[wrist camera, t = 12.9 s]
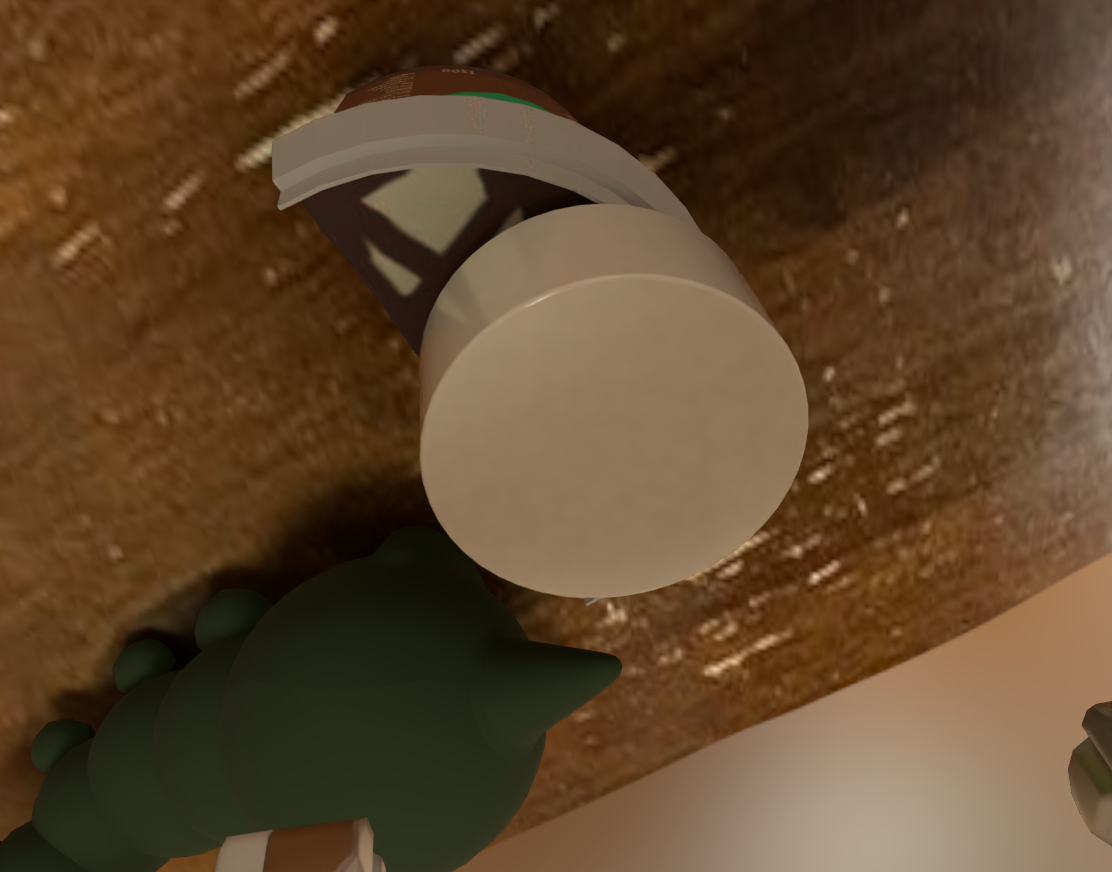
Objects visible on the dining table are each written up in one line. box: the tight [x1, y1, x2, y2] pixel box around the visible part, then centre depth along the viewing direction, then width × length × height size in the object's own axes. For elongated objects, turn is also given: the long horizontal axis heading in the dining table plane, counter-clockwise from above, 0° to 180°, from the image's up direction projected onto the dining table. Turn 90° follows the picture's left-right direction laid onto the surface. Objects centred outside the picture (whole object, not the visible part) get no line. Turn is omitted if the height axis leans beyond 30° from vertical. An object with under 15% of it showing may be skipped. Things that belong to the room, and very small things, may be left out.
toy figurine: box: [0, 525, 622, 872], centre depth 28 cm, size 9×19×25 cm
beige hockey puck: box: [419, 204, 808, 598], centre depth 18 cm, size 7×7×3 cm
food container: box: [272, 65, 701, 606], centre depth 23 cm, size 12×6×10 cm, turn 29°
